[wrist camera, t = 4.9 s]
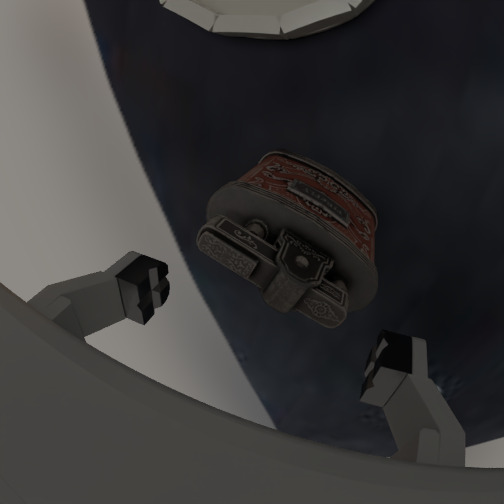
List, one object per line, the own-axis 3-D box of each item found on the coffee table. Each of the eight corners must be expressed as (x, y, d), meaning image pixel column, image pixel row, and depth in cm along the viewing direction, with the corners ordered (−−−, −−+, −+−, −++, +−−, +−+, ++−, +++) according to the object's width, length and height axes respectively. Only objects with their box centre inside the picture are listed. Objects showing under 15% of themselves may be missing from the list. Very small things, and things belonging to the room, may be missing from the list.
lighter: (388, 208, 18) (397, 317, 10) (357, 247, 20) (339, 367, 12) (275, 136, 18) (191, 188, 10) (251, 181, 20) (164, 260, 12)
